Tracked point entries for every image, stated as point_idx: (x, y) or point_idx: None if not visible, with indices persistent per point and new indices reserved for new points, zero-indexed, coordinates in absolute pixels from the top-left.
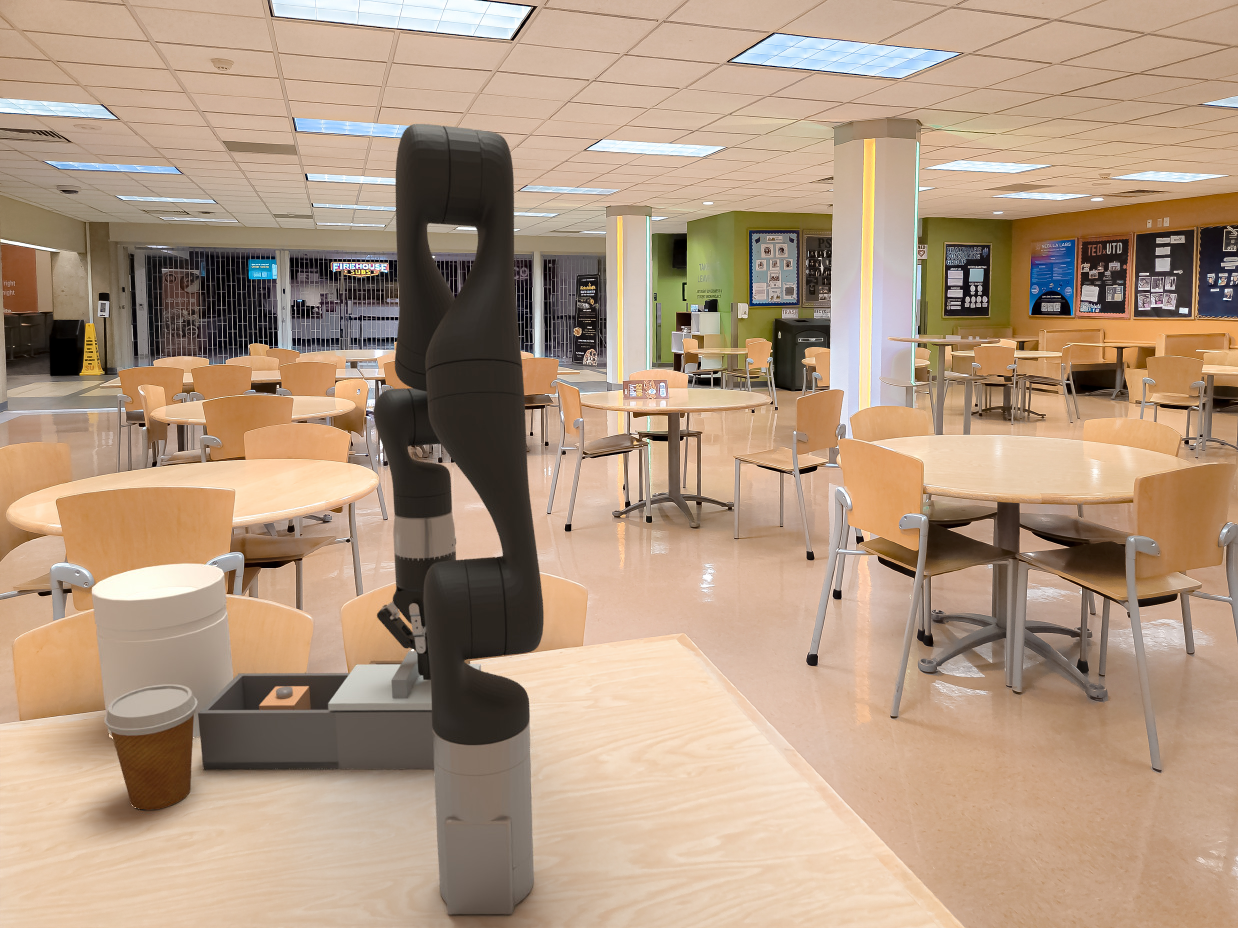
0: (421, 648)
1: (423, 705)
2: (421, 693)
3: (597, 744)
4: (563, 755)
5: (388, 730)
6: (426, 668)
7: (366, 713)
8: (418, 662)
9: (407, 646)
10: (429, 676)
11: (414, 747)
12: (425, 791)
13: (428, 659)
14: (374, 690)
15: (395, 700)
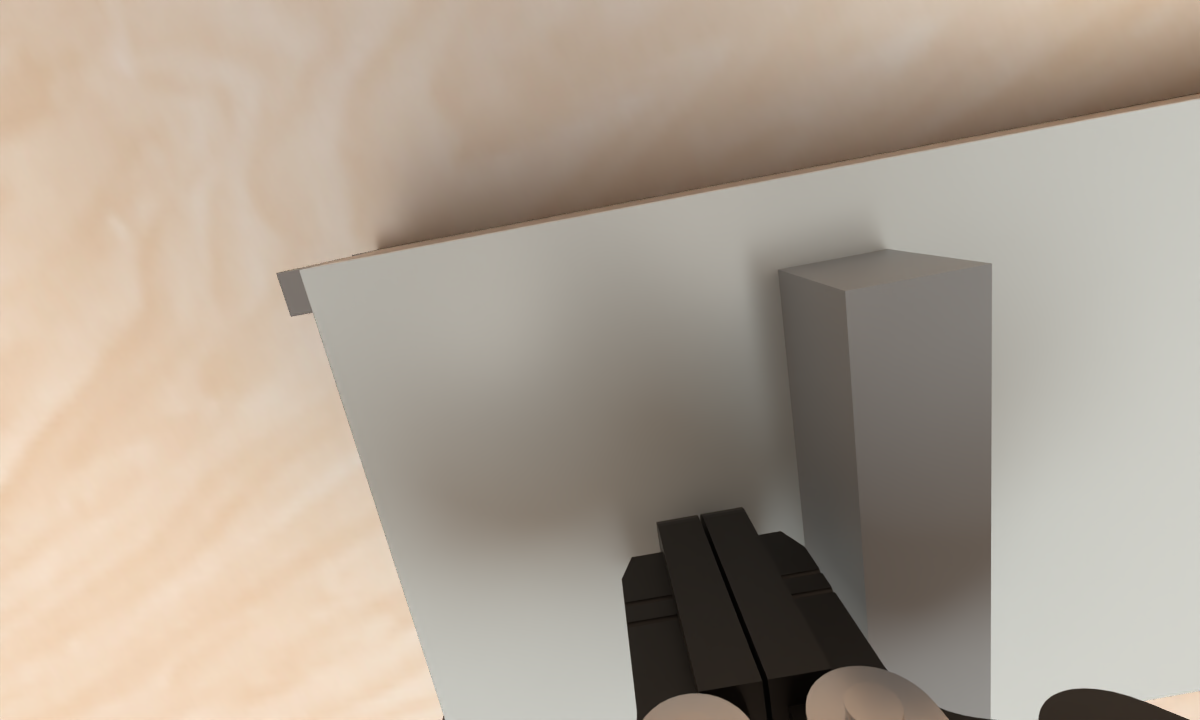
0: (864, 714)
1: (620, 208)
2: (697, 362)
3: (21, 504)
4: (110, 404)
5: (811, 169)
6: (736, 562)
7: (1004, 134)
8: (834, 604)
9: (1079, 716)
10: (696, 525)
11: (657, 197)
12: (533, 28)
13: (738, 629)
14: (1055, 346)
15: (851, 215)
